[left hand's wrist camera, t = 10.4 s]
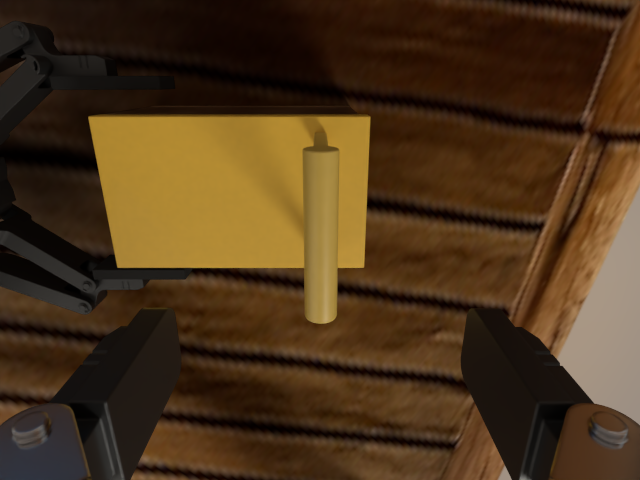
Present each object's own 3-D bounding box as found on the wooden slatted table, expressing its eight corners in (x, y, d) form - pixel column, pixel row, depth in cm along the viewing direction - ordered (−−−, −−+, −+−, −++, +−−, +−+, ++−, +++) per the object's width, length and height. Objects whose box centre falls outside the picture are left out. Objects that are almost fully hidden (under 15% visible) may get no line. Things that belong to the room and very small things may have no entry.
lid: (368, 114, 24) (393, 132, 16) (362, 259, 28) (380, 337, 19) (98, 114, 24) (-18, 132, 16) (125, 260, 28) (41, 338, 19)
